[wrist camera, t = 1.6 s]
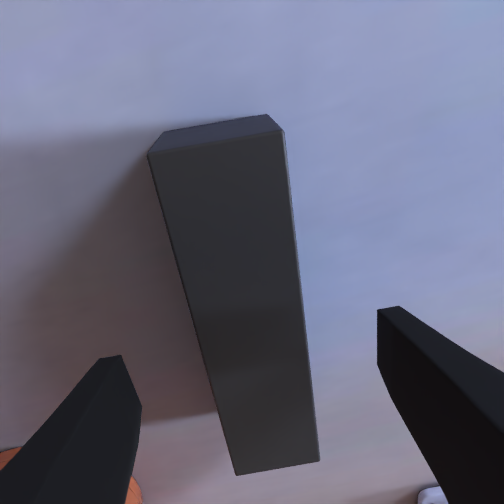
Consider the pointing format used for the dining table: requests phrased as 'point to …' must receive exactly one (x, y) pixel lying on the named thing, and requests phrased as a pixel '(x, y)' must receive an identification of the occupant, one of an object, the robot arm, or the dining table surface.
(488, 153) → the dining table surface
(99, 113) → the dining table surface
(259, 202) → the black bar
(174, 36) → the dining table surface
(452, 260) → the dining table surface
